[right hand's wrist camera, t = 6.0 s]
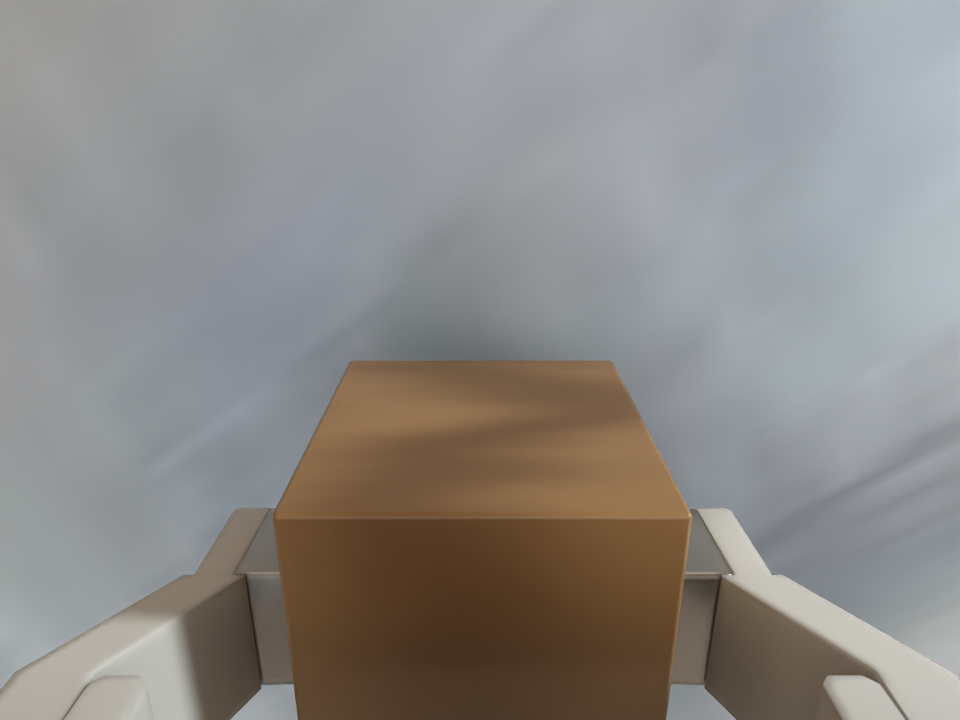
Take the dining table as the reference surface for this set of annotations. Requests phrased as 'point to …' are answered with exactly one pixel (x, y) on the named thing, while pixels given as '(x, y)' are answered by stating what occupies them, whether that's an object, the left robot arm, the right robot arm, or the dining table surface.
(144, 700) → the right robot arm
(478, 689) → the block
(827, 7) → the dining table surface
